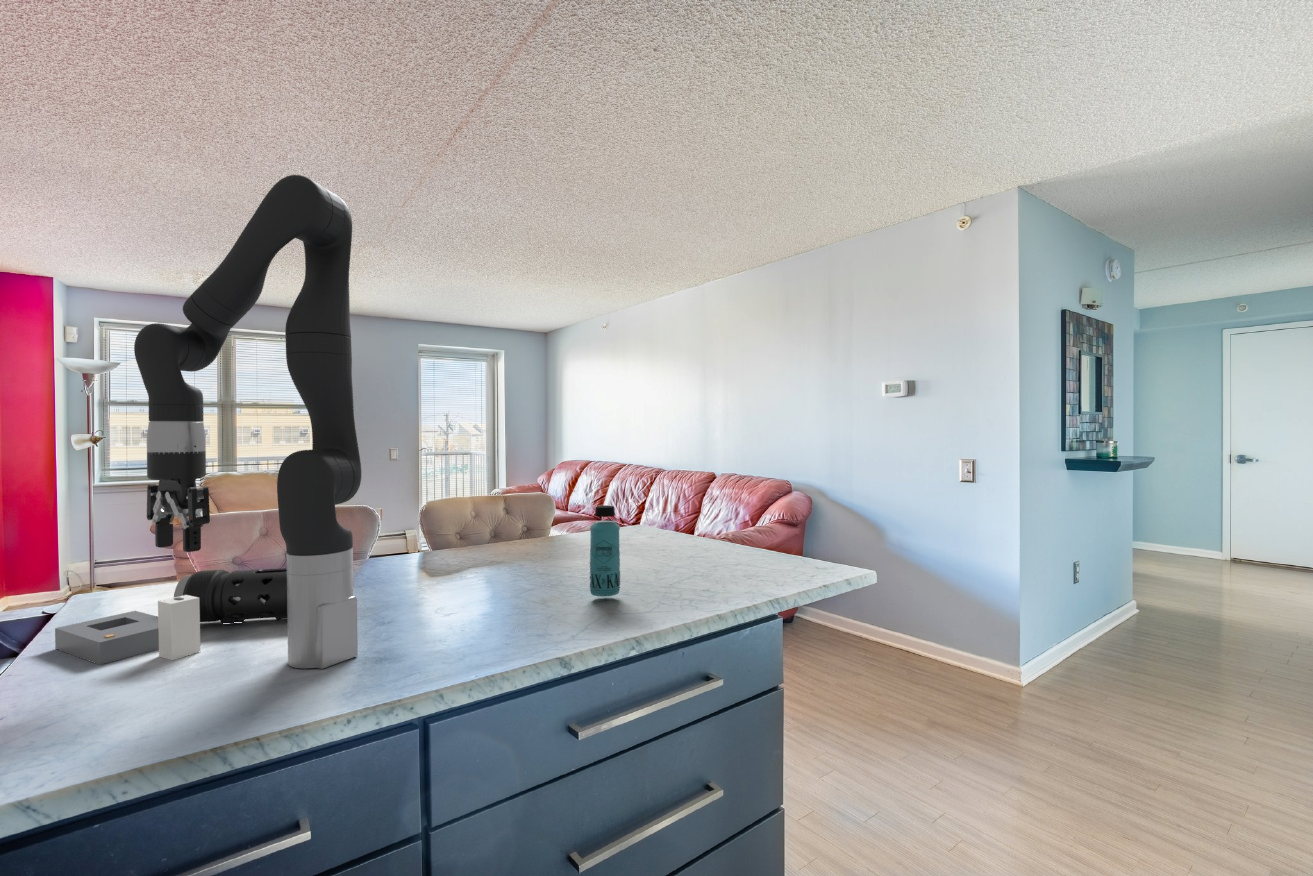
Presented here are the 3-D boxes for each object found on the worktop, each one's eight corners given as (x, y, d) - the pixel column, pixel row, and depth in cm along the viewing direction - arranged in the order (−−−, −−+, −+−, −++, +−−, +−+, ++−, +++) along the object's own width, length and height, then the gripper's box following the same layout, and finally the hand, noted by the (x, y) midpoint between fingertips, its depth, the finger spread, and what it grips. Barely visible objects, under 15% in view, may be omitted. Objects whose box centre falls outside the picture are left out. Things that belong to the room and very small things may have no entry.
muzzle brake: (340, 623, 114) (339, 569, 114) (170, 635, 109) (169, 577, 108) (354, 609, 124) (353, 558, 124) (199, 619, 118) (198, 566, 118)
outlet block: (181, 642, 104) (181, 621, 104) (100, 664, 94) (99, 641, 94) (135, 629, 111) (135, 609, 111) (55, 648, 102) (54, 627, 102)
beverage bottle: (587, 597, 131) (586, 504, 130) (616, 594, 133) (616, 503, 132) (593, 605, 124) (592, 508, 124) (624, 602, 126) (623, 506, 126)
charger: (200, 652, 100) (199, 596, 99) (172, 660, 96) (170, 602, 96) (187, 648, 101) (186, 593, 101) (159, 656, 98) (157, 599, 98)
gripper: (226, 449, 98) (227, 549, 99) (180, 448, 105) (181, 541, 105) (172, 450, 92) (173, 557, 92) (127, 449, 98) (128, 549, 98)
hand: (177, 549), depth 99 cm, fingers open, 8 cm apart
